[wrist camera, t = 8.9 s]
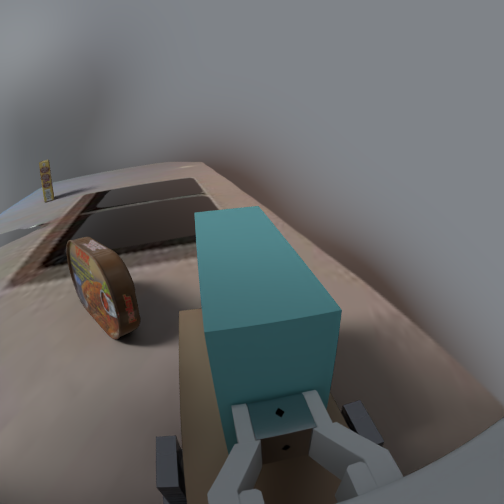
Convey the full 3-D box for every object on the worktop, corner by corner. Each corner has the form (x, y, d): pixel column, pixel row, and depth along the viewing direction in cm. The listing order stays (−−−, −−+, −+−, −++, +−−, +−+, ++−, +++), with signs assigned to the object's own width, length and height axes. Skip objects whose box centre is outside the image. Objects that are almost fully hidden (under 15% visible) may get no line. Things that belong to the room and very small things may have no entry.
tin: (75, 297, 35) (57, 234, 32) (96, 288, 37) (80, 226, 34) (126, 355, 26) (100, 272, 22) (154, 340, 28) (134, 258, 24)
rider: (231, 467, 12) (203, 332, 8) (208, 320, 22) (194, 212, 19) (318, 449, 12) (341, 310, 9) (262, 312, 23) (258, 206, 20)
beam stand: (170, 539, 11) (141, 515, 9) (166, 359, 25) (153, 313, 23) (382, 494, 13) (409, 458, 11) (302, 339, 27) (304, 293, 25)
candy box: (55, 199, 98) (48, 159, 92) (44, 202, 96) (37, 162, 90) (54, 196, 105) (48, 159, 99) (45, 199, 103) (39, 161, 96)
